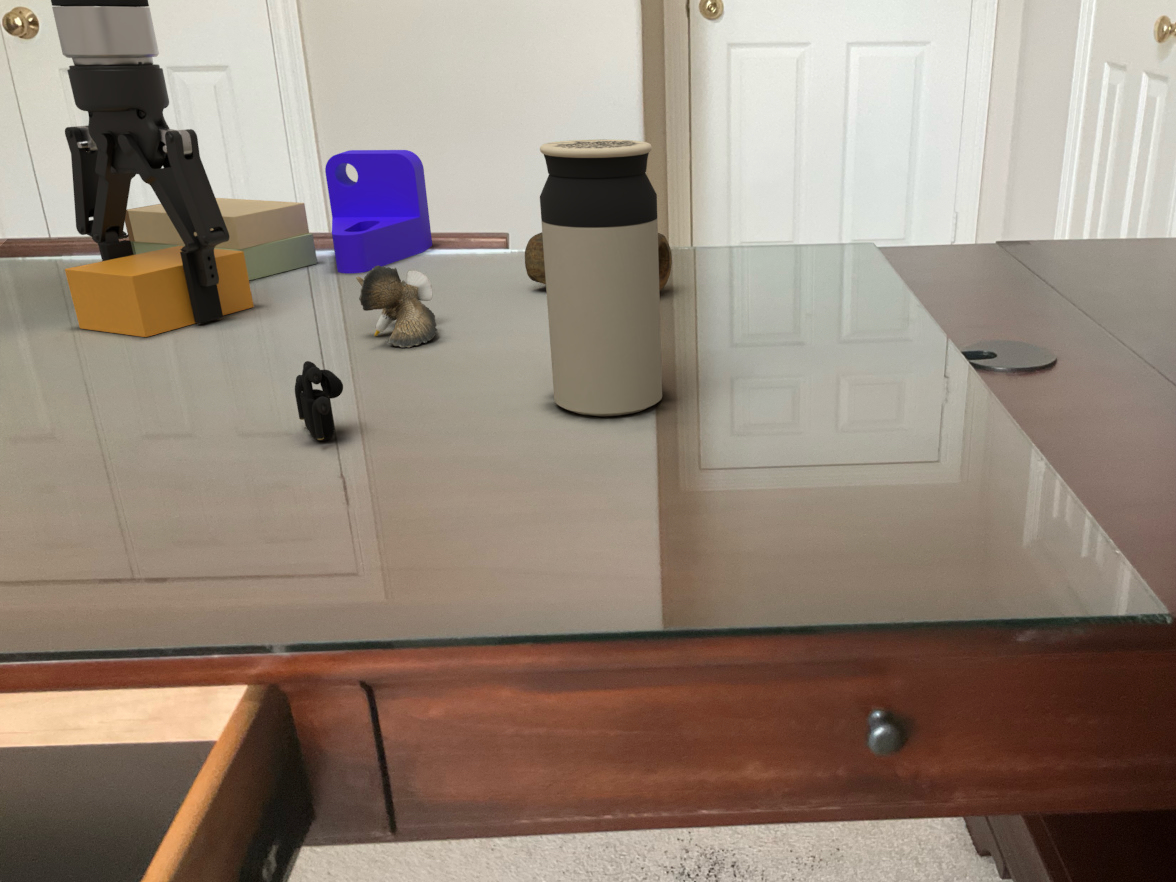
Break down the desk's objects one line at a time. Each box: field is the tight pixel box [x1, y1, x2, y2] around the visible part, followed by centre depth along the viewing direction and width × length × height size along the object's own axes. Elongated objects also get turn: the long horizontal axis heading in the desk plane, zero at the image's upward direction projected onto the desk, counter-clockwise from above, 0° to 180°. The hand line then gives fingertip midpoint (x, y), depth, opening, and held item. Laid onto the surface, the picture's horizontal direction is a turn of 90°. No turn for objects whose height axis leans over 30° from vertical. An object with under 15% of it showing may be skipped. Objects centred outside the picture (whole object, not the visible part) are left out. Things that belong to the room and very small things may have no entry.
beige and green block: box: [124, 197, 318, 281], centre depth 125 cm, size 16×12×7 cm
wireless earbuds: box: [294, 360, 344, 442], centre depth 72 cm, size 7×2×5 cm, turn 32°
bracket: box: [324, 149, 433, 274], centre depth 130 cm, size 18×11×12 cm, turn 1°
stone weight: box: [524, 231, 673, 292], centre depth 113 cm, size 15×7×7 cm, turn 76°
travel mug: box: [539, 138, 663, 417], centre depth 76 cm, size 8×8×18 cm
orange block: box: [64, 246, 255, 338], centre depth 103 cm, size 13×8×6 cm, turn 157°
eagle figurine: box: [355, 265, 438, 349], centre depth 97 cm, size 8×7×9 cm
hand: (169, 314), depth 104 cm, fingers open, 9 cm apart
